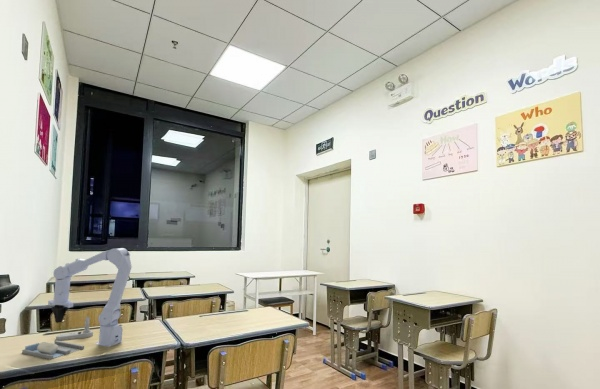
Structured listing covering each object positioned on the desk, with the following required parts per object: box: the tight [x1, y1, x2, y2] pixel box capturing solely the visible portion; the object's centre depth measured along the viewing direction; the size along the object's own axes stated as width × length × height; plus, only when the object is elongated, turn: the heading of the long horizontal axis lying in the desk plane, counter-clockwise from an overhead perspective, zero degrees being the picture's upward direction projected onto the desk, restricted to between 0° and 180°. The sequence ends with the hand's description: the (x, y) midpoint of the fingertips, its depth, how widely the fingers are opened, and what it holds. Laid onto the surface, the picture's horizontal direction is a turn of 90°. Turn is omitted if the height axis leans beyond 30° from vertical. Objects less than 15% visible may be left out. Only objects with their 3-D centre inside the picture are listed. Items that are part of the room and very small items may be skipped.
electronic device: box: [55, 316, 94, 341], centre depth 162 cm, size 5×10×15 cm
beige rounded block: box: [37, 341, 58, 354], centre depth 140 cm, size 7×4×4 cm, turn 69°
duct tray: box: [21, 340, 85, 360], centre depth 142 cm, size 18×14×3 cm
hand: (58, 322), depth 153 cm, fingers closed
